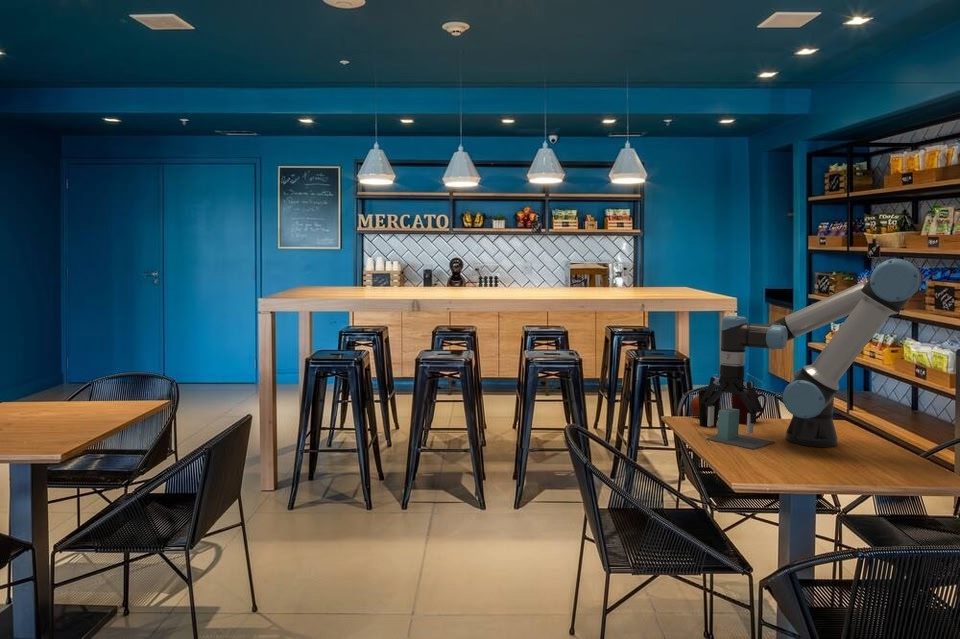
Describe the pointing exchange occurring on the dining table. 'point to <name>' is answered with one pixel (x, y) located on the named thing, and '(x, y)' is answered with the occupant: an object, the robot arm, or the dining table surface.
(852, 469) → the dining table surface
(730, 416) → the card box
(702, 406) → the cup
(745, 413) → the mug
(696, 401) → the fruit
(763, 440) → the mat
